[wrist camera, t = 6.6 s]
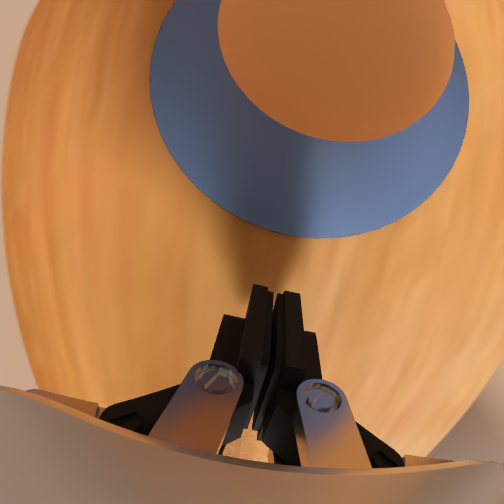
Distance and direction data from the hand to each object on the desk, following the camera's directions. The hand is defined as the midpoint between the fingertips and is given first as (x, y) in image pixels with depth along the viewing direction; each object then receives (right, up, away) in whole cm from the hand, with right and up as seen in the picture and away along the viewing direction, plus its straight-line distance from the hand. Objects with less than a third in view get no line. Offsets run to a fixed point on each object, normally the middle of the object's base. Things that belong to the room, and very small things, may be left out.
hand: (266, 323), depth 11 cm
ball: (+2, +8, -5) cm, 10 cm away
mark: (+2, +9, -2) cm, 9 cm away
